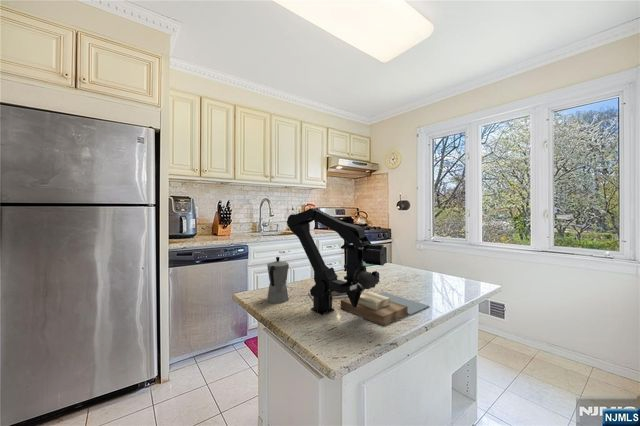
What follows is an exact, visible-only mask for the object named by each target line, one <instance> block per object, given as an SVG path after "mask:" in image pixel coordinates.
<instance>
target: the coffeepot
mask: <svg viewBox="0 0 640 426" xmlns="http://www.w3.org/2000/svg"><path fill="white" fill-rule="evenodd" d="M266 265H267V273H268V280H269V284H268V291H267V298H266V300H267V302H268V303H270V304H271V303H272V304H282V303H286V302H287V301H289V299H290V298H289V293H288V286H287V280H288V279H287V278H288V271H289V263H288V262H286V261H281V260H280V256H276V257H275V261H272V262H268V263H266Z"/></svg>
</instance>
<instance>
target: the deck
mask: <svg viewBox="0 0 640 426" xmlns="http://www.w3.org/2000/svg"><path fill="white" fill-rule="evenodd" d="M340 309H343V310H345V311H347V312H350V313H352V314H355V316H356V315H357V316H359V317H362V318H364V319H366V320H369V321H372V322H374V323H376V324H378V325H380V326H383V327H384V326H386V325H388V324H390V323H392V322H395V321H397V320H399V319H401V318H404V317H407V316H409V315H408V307H407V306H404V305H401V304H398V303H395V302H392V301H390V305H388V306H386V307H383V308H380V309H378V310H374V309H372V308H369V307H366V306H364V305H361V304H357V307H355V308H354V307H353V306H352V304H351V302H350V300H349V297H347V298H342V299H340Z"/></svg>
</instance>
